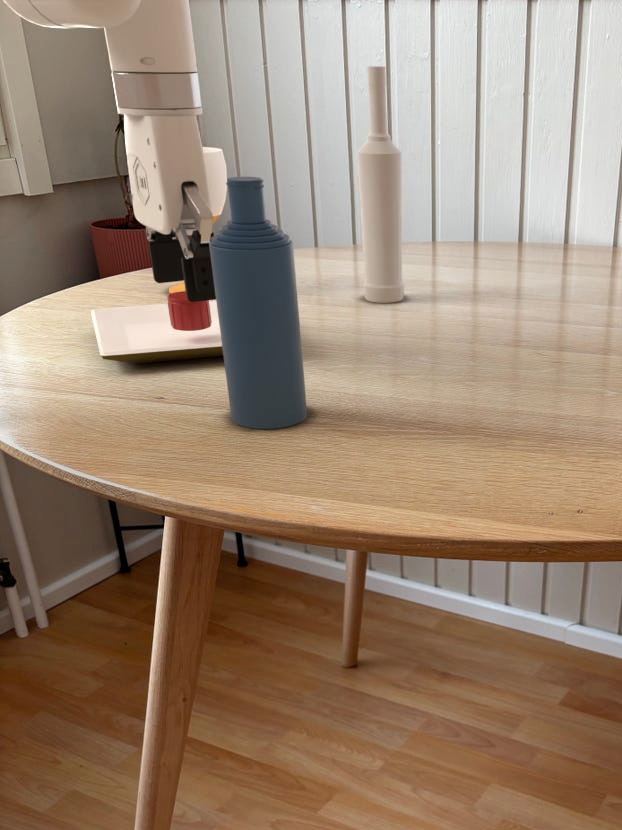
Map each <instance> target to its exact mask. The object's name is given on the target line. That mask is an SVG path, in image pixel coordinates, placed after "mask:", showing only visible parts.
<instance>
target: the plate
mask: <svg viewBox="0 0 622 830" xmlns="http://www.w3.org/2000/svg"><path fill="white" fill-rule="evenodd" d="M209 306H210V314H211V321H212V323H211V326H210V327H209V328H207V329H203V330H197V331H181V330H176V329H174V328H172V326H171V321H170V315H169V308H168V303H157V304H156V303H155V304H143V305H142V304H141V305H130V306H127V305H126V306H116V307H114V306H113V307H99V308H93V309H92V310H90V315H91V319H92V325H93V328H94V333H95V337H96V342H97V347H98V351H99V352H98V353H99V356H100V357H101V358H102V359H103V360H108V361H113V362H114V361H115V362H122V363H129V364H142V363H143V364H144V363H146V364H147V363H157V362H168V361H169V362H170V361H179V360H180V361H181V360H192V359H203V358H214V357H215V358H216V357H223V349H222V341H221V333H220V326H219V318H218V310H217V302H216V299H215V300H209Z"/></svg>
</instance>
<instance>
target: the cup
mask: <svg viewBox="0 0 622 830" xmlns="http://www.w3.org/2000/svg"><path fill="white" fill-rule="evenodd" d="M202 148H203V153H204V159H205V165H206V171H207V177H208V184H209V191H210V198H211V208H212V214H213V224H215V222H216V221H217V220H218V218H219V217H220V216H221V215H222V213H223V210H224V206H225V203H226V199H227V192H228V186H227V185H226V183H227V179H228V172H227V171H228V170H227V163H226V159H225V155H224V150H223V149H222V148H218V147H209V146H202ZM168 288H169V289H168V294H171V293H175V292H181V291H186V290H185V283H184V282H182V283H177V284H174V285H173V286H170V287H168Z"/></svg>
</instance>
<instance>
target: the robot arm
mask: <svg viewBox="0 0 622 830" xmlns="http://www.w3.org/2000/svg"><path fill="white" fill-rule="evenodd" d="M2 1H3V2H4V3H5V4H6V5H7V7H9V8H10V9H11V10H12V11H13V13H15V14H16V15H18V16H19V17H20V18H23V19H24V20H26V21H28V22H30V23H32V24H35V25H38V26H41V27H44V28H45V27H46V28H52V29H53V28H54V29H78V28H91V29H103V30H104V36H105V42H106V47H107V53H108V59H109V65H110V71H111V77H112V83H113V89H114V96H115V102H116V108H117V114H119V115H123V125H124V141H125V142H124V143H125V152H126V153H125V154H126V159H127V160H126V161H127V169H128V177H129V185H130V186H129V187H130V193H131V202H132V208H133V214H134V218H135V219H136V221H138V222H139V223H140V224H141V225H143V226H145V235H146V238H147V244H148V251H149V257H150V263H151V270H152V276H153V280H154V282H155V283H157V284H167V283H175V282H183V283H185V290H186V297H187V299H188V300H189V301H190V302H199V301H207V300H209V301H215V300H216V295H215V287H214V279H213V271H212V264H211V256H210V248H209V243H210V242H211V238H212V237H213V236H215V232H213V227H214V223H213V214H212V208H211V198H210V191H209V184H208V177H207V171H206V165H205V159H204V153H203V148H202V147H203V143H202V139H201V134H200V128H199V123H198V119H197V116H199V115H203V114H204V112H203V105H202V97H201V96H202V95H201V88H200V80H199V79H200V78H199V73H198V64H197V63H198V62H197V57H196V48H195V47H196V46H195V40H194V31H193V23H192V16H191V8H190V0H2ZM188 236H191V237H190V239H189V237H188ZM183 256H184V257H183Z"/></svg>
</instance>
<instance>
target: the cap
mask: <svg viewBox="0 0 622 830" xmlns="http://www.w3.org/2000/svg"><path fill="white" fill-rule="evenodd" d="M166 297H167V298H166V299H167V304H168V308H169V315H170V321H171V326H172V328H174V329H176V330H181V331H197V330H203V329H207V328H209V327H210V326H211V323H212V321H211V314H210V306H209V301H210V300H207V301H199V302H190V301H189V300H188V299H187V297H186V291H181V292H175V293H168V294H167V296H166Z"/></svg>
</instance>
